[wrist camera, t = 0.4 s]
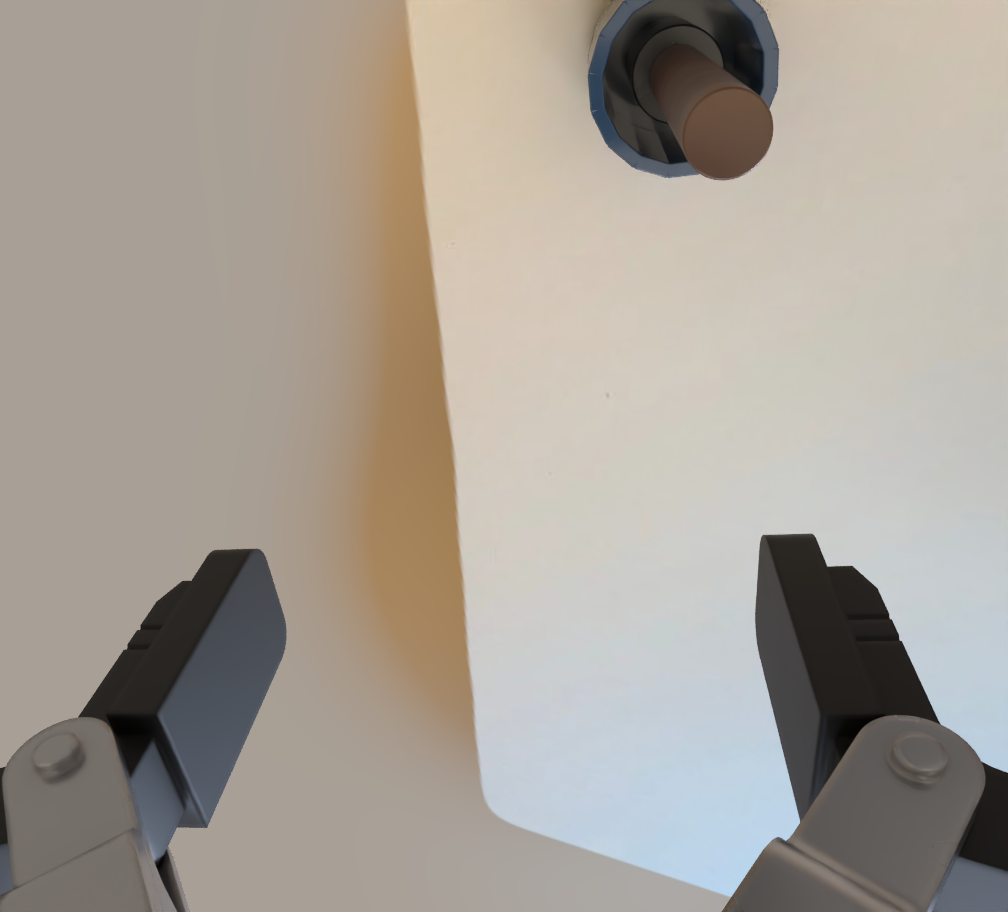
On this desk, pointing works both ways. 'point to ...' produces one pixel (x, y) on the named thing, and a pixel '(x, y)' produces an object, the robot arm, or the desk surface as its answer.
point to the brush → (698, 98)
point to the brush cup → (623, 124)
